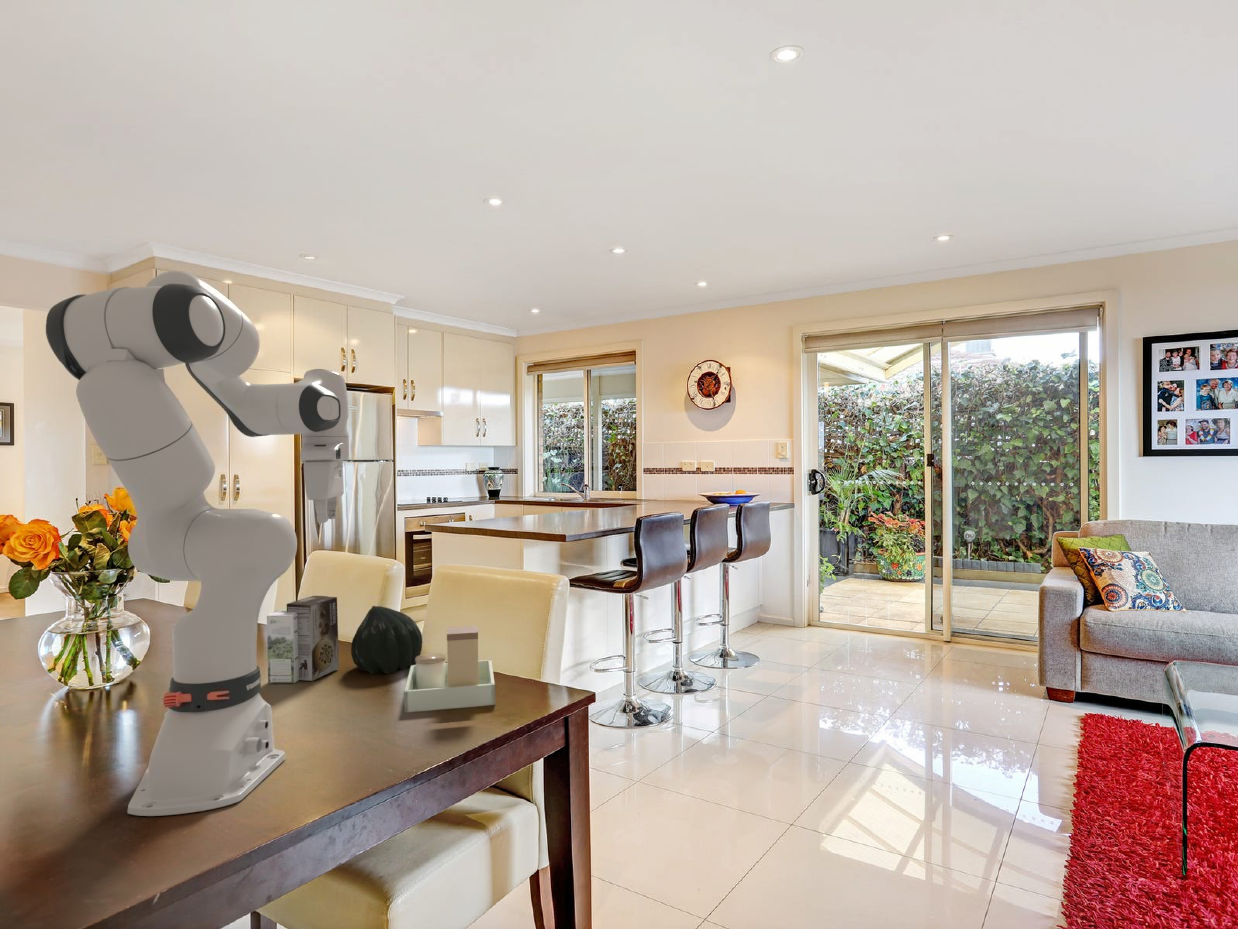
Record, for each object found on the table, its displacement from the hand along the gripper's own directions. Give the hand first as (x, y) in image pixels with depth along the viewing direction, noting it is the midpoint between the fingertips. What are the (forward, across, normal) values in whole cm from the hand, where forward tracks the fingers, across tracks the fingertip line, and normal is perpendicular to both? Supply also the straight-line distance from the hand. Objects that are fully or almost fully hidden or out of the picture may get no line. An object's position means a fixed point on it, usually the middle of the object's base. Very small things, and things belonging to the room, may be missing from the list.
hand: (326, 520), depth 145 cm
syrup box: (+34, -9, -10) cm, 37 cm away
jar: (+33, +7, +20) cm, 39 cm away
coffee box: (+34, -12, -5) cm, 36 cm away
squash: (+34, -11, +10) cm, 37 cm away
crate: (+34, +12, +24) cm, 43 cm away
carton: (+33, +16, +26) cm, 45 cm away
